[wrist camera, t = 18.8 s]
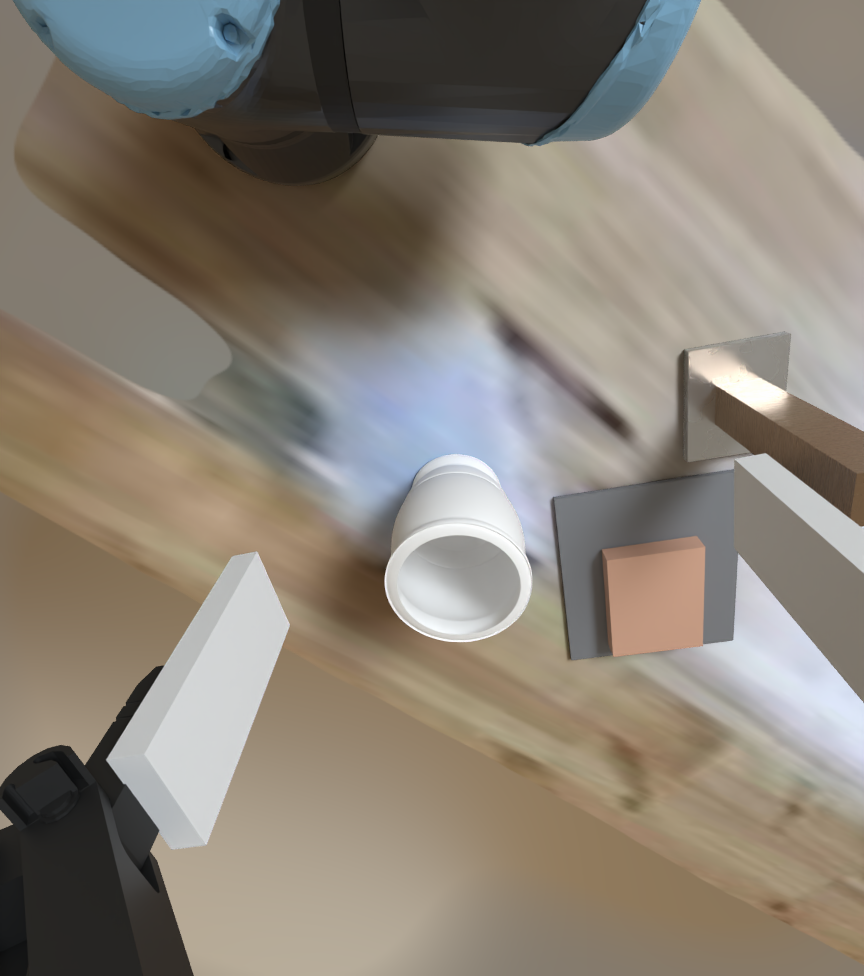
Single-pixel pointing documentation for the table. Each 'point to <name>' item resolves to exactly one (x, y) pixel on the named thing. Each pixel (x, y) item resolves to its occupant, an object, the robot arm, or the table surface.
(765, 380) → the tall wooden post
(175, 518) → the table surface
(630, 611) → the terracotta tile
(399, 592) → the jar
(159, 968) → the robot arm
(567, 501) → the slate rubber mat
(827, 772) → the table surface
